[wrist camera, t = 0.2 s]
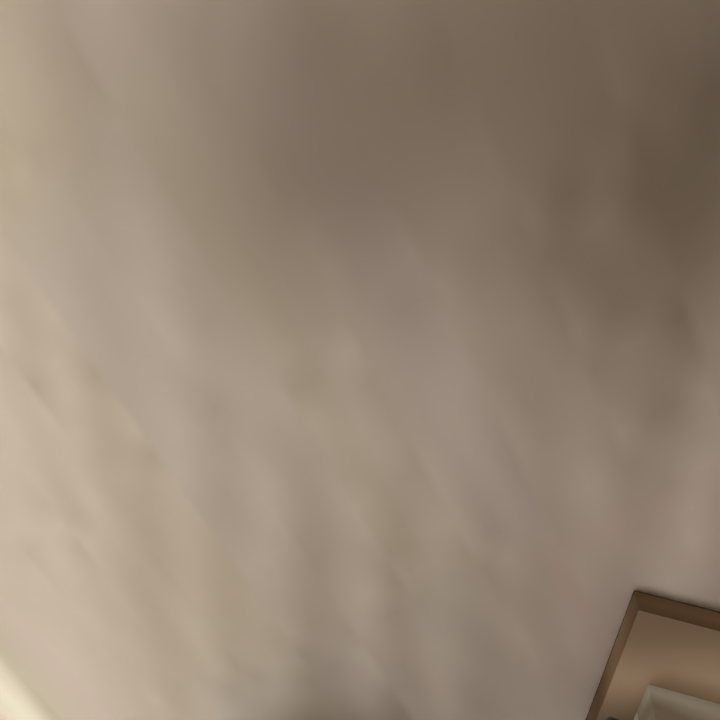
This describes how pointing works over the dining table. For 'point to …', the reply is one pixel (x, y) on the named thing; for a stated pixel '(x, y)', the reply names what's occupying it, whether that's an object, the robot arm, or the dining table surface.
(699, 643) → the board
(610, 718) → the robot arm
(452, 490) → the dining table surface
